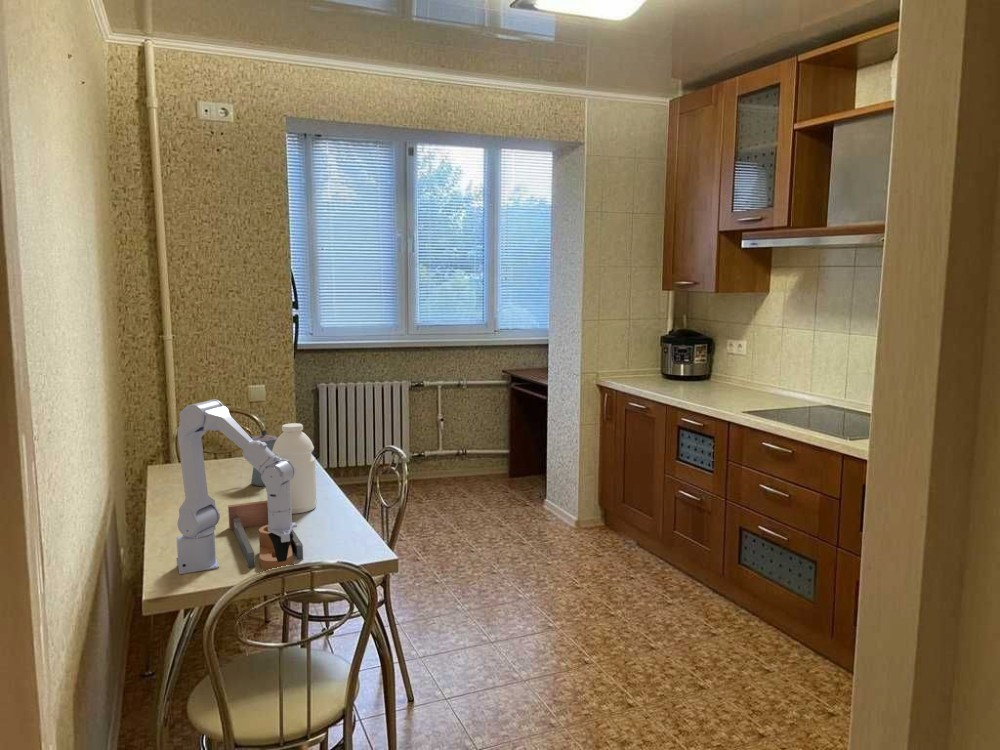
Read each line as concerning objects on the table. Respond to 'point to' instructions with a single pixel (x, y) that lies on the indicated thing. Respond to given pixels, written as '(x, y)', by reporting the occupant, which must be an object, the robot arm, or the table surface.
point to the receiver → (250, 517)
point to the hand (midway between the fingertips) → (281, 560)
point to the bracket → (270, 551)
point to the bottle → (298, 466)
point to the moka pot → (270, 443)
